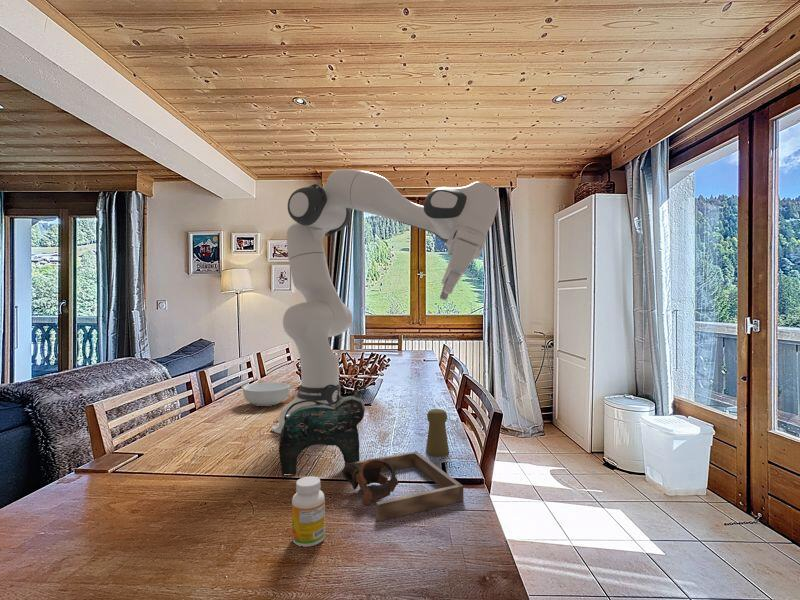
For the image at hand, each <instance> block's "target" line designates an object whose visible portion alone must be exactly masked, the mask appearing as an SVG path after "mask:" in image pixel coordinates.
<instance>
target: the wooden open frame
mask: <svg viewBox="0 0 800 600" xmlns="http://www.w3.org/2000/svg"><path fill="white" fill-rule="evenodd" d="M370 459H371V458H370ZM370 459H363V460H359V461H357V462H351V463H355V464H357V465H360V466H361V465H362V464H363V463H364V462H366V461H367V460H370ZM374 459H376V457H375V458H374ZM377 459H383V460H386V461H388V462H389V463H390V464H392V465H393V467H394V470H395V471H396V470H399V469H405V468H410V467H415V468H417V469H418V470H420V472H422V473H423V474H424V475H425V476H427V477H428V478H429V479H430V480H432V481H433V482H434V483H435V484H436V485H437V486H439V487H440V488H436V489H431V490H428V491H422V492H417V493H412V494H407V495H403V496H399V497H394V498H390V499H385V500H381V501H375V507H376V508H375V509H376V510H375V513H376V514H375V517H376V518H375V519H376V520H377V522H380V521H385V520H388V519H393V518H397V517H402V516H405V515H406V516H407V515H411V514H414V513H415V514H416V513H419V512H424V511H427V510H431V509H436V508H439V507H444V506H449V505H453V504H457V503H461V502H464V485H463V484H462V483H460V482H459V481H457V480H456V479H455V478H453V477H452V476H450V475H449V474H448V473H447V472H445V471H444V470H443V469H441V467H438V466H437V465H435V464H434V463H433V462H432V461H430V460H429V459H428V458H426V457H425V456H423V454H421V453H420V452H418V451H417V450H416V451H412V452H411V451H410V452H405V453H399V454H394V455H393V454H391V455H387V456H382V457H381V456H380V457H377ZM346 464H348V463H345V462H344V466H345V465H346ZM389 471H390V470H389V469H388V468H387V467H384V468H382V469H381V471H380V473H384V472H389ZM390 472H391V471H390Z"/></svg>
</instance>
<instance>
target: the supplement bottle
mask: <svg viewBox="0 0 800 600" xmlns="http://www.w3.org/2000/svg"><path fill="white" fill-rule="evenodd" d="M321 485H322V484H321V479H320V477H317V476H304V477H301V478H299V479H297V480H296V483H295V488H296V489H295V492H296V493H294V494H293V496H292V499H291V531H292V532H291V533H292V542H293V543H294V544H295V545H297V546H299V547H301V546H303V548H306V547H307V548H308V547H309V548H310V547H312V546H313V547H314V546H317V545H318V544H320V543H321V542H323V540H324V539H325V537H326V512H325V511H326V510H325V509H326V508H325V506H326V504H325V503H326V502H325V501H326V499H325V494H324V491H322V490H321Z"/></svg>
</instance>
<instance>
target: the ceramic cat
mask: <svg viewBox="0 0 800 600" xmlns="http://www.w3.org/2000/svg"><path fill="white" fill-rule="evenodd" d="M330 386H333V387H335V388H336V389H337V390H338V388H337V387H336V386H335V385H332V384H330V385H327V386H325V387H324V389H323V391H324V390H325V389H326V388H327V387H330ZM303 402H315V403H316V404H313V405H309V406H303V407H300V408H298V409H297V410H295V411H293V412H292V413H291V414H290V415H289V416H288V418H286V416H287V413H288V412H289V410H290V409H291V408H292V407H293V406H295V405H296V404H300V403H303ZM334 403H336V404H335V405H332V404H334ZM365 407H366V406H365V402H364V401H363V399H362V395H361V392H360V391H359V390H356V391H355V392H354V394H353V395H348V396H342V395H341V394H340V395H339V390H338V394H337V400H336V401H335V402H333V403H330V404H327V403H321V402H317V401H314V400H304V401H300V402H297V403H294V404H292V405H291V406H290V407H289V409H288V410H287V412H286V414H285V417H284V420H285V423H284V426H283V428H282V430H281V434H280V435H279V445H278V446H279V447H278V455H279V461H280V462H279V463H280V469H281V470H280V471H281V475H282V476H283V475H284V474H297V466H298V465H297V464H298V457H299V456H300V454H301V453H302V452H303V451H304V450H305V449H308V448H309V447H311V446H312V447H313V446H317V445H318V446H336V447H337V448H338V449H339V450H340V452H341V454H342V456H343V461H344V464H345V463H351V462H357V461H360V438H359V436H360V435H359V430H358V425H359V424H360V423H361V422H362V421H363V419H364V416H365Z"/></svg>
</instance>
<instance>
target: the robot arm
mask: <svg viewBox="0 0 800 600" xmlns="http://www.w3.org/2000/svg"><path fill="white" fill-rule="evenodd" d="M499 202H500V198H499V195H498V193H497V191H496V189H494V188H493V187H492V186H491V185H489V184H487V183H485V182H482V181H481V182H480V181H474V182H473V183H470V184H469V185H466V186H462V187H461V186H459V187H447V186H441V187H437V188H435V189H433V190H432V191H430V192H429V193H428V194H427V196H426V197H425V199H424V202H423V205H420V204H418V203H414V202H412V201H411V200H409V199H407V198H406V197H405V196H403V194H402V193H401V192H400V191H399V190H397V188H396V187H395V186H394V185H393V184H392V183H391V182H390V180H388V179H387V178H385V177H384V176H381V175H379V174H377V173H374V172H370V171H368V170H367V171H366V170H362V169H361V170H359V169H351V168H350V169H348V168H347V169H346V168H344V169H336V170H333V172H331V173H330V174H329V176H328V177H327V179H326V183H325V184H324V185H323V186H322V185H320V184H318V183H313V184H312V185H309V186H305V187H301V188H298V189H296V190H295V191H293V192H292V193H291V194H290V196H289V198H288V200H287V212H288V215H289V216H290V218H291V219H292V220H293V221H294V222H295V223H292V225H290V226H289V227H288V229H287V231H286V248H287V249H286V251H287V257H288V263H289V267H290V269H289V270H290V274H291V277H292V278H291V280H292V283H293V286H294V287H295V288H296V290H298V291H299V292H300V293H301V295H303V297H304V299H305V302H300V303H297V304H295V305H291V306H290V307H288V308H287V309H286V311H285V312H284V314H283V317H282V327H283V329H284V332H285V333H286V334H287V336H288V337H289V338H291V339H292V340H293V342H294V344H295V347H296V348H297V351H298V355H299V359H300V370H301V372H300V373H301V374H300V375H301V377H300V378H301V379H300V380H301V383H300V385H299V386H296V387H294V390H293V391H294V392H297V394H296V397H295V398H294V399H292V401H290V402H289V403H288V404H286V405H285V406H284V407H282V409H281V410H280V414H279V418H278V419H279V422H277V423H275V424H273V425H272V426H271V429H270V431H271V430H272V431H271V432H273V431H274V433H277V434H278V435H279V434H281V430H282V428H283V426H284V423H285V420H284V417H285V414H286V412H287V410H288V409H289V407H290V406H291V405H292V404H294V403H297V402H300V401H304V400H314V401H317V402H321V403H327V404H330V403H333V402H335V401H336V400H337V394H338V390H339V395H341V383H340V382H339V381H340V379H339V377H340V375H339V374H340V371H339V369H340V367H339V366H340V365H339V363H340V362H339V357H338V355H336V353H334V352H333V350H332V348H331V346H330V345H331V344H330V340H329V338H331V337H338V336H339V335H342V334H343V333H345V332H347V331H348V330H349V329H350V327H351V326H352V322H353V313H352V311H351V309H350V308H349V307H348V305H346V304H345V303H344V302H343V301H342V299H341V297H340V296H339V294H338V292H337V290H336V288H335V286H334V283H333V281H332V279H331V275H330V270H329V266H328V262H327V256H326V251H325V248H324V237H325V236H326V237H331V236H333V235H334V234H335V233H337V232H339V231H342V230H343V229H344V228H346V226H348V224H349V223H350V220H351V216H352V212H351V210H354V211H358V212H363V213H368V214H372V215H375V216H379V217H382V218H386V219H389V220H393V221H396V222H398V223H401V224H404V225H407V226H411V227H412V228H417V229H418V230H419V229H420V230H421V231H422V230H423V231H427V232H429V233H431V234H433V235H435V237H437V238H438V239H439V240H440V241H442V242H443V243H445V246H446V248H447V249H448V251H447V254H448V255H449V257H450V260H449V262H448V265H447V267H446V270H445V272H444V275H443V276H442V280H441V285H442V289H441V292H440V295H439V300H441V301H447V299H448V297H449V295H450V294H452V293H453V291H454V288H455V287H456V285H457V284H458V282H459V281H460V280H461V278H462V277H463V276H464V273H466V271H467V270H468V268H469V266H470V264H471V263H472V262H473V261H474V260H477V259H479V258H480V257H481V255H482V252H483V249H484V247H485V245H486V242H487V240H488V239H487V238H488V232H489V230H490V229H491V227H492V226H493V224H494V220H495V218H496V215H497V211H498V207H499ZM330 384H332V385H335V386H336V387H337V388H338V390H337V389H336V388H335V387H333V386H330V387H327V388H326V389H325V390H324V391H323V389H324V387H325V386H327V385H330ZM313 404H316V403H315V402H303V403H300V404H296V405H295V406H293V407H292V408H291V409H290V410H289V412H288V413H287V416H286V418H288V416H289V415H290V414H291V413H292V412H293V411H295V410H297V409H298V408H300V407H303V406H309V405H313ZM335 404H336V403H334V404H332V405H335Z"/></svg>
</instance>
